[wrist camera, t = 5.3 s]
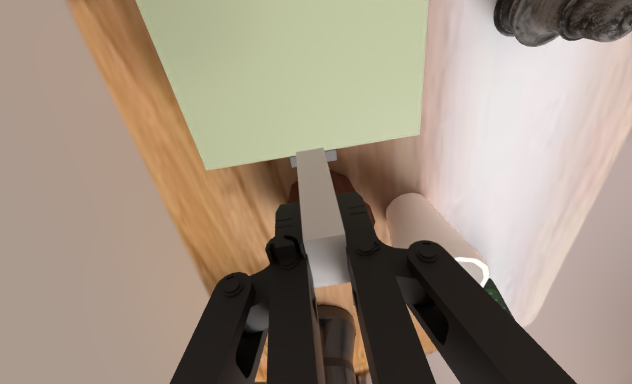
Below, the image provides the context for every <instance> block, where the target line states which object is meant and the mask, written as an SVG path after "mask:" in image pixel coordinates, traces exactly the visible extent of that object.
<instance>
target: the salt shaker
mask: <svg viewBox="0 0 632 384" xmlns="http://www.w3.org/2000/svg"><path fill="white" fill-rule="evenodd" d="M494 23H495V26H496V28H497V30H498V31H499V32H500V33H501V34H503V35H505V36H512V37H514V36H515V37H516V39H517V40H518V41H519V42H520V43H521V44H523V45H526V46H530V47H537V46H541V45H544V44H546V43H548V42H550V41H552V40H554V39H555V38H557V37H558V36H559V35H560V36H561V37H562V38H563V39H565V40H568V41H575V40H579V39H582V38H586V39H590V40H595V41H599V42H612V41H616V40H618V39H620V38H622V37H624V36H626V35H627V34H629V33H630V32H631V31H632V0H498V1H497V4H496V7H495V12H494Z"/></svg>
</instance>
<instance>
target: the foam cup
mask: <svg viewBox="0 0 632 384" xmlns="http://www.w3.org/2000/svg"><path fill="white" fill-rule="evenodd" d="M386 220H387V224H388V229H389V233H390V238H391V242H392V247H395V248H404V249H408V248H409V246H410V245H411V244H412V243H414V242H416V241H421V240H428V241H433V242H435V243H438V244H439V245H441V246H442V247H443V248H444V249H445V250H446V251H447V252H448V253H449V254H450V255H451V256H452V257H453V258H454V259H455V260H456V261H457V262H458V263H459V264H460V265H461V266H462V267H463V268H464V269H465V270H466V271H467V272H468V273H469V274H470V275H471V276H472V277H473V278H474V279H475V280H476V281H477V282H478V283H479V284H480V285H481V286H482V287H484V285H485V284H486V282H487V280H488V278H489V271H488V266H487V264H486V263H485V262H484V260H483V259H482V257H481V256H480V254H479V253H478V251H477V250H476V249H475V248H473V247H472V246H471V245H469V244H468V243H467V242H466V241H465V239H464V238H463V237H462V236H461V235H460V234H459V233H458V232H457V231H456V230H455V229H454V228H453V226H452V225H451V224H450V223H449V222H448V221H447V220H446V219H445V218H444V217H443V216H442V214H441V213H440V212H439V211H438V210H437V209H436V208H435V207H434V206H433V205H432V204H431V203H430V201H428V200H427V198H425V197H424V196H423V195H421V194H418V193H407V194H403V195H400V196H399V197H397V198H395V199H394V200H392V202H391V203H390V204H389V205H388V207H387V210H386Z"/></svg>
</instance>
